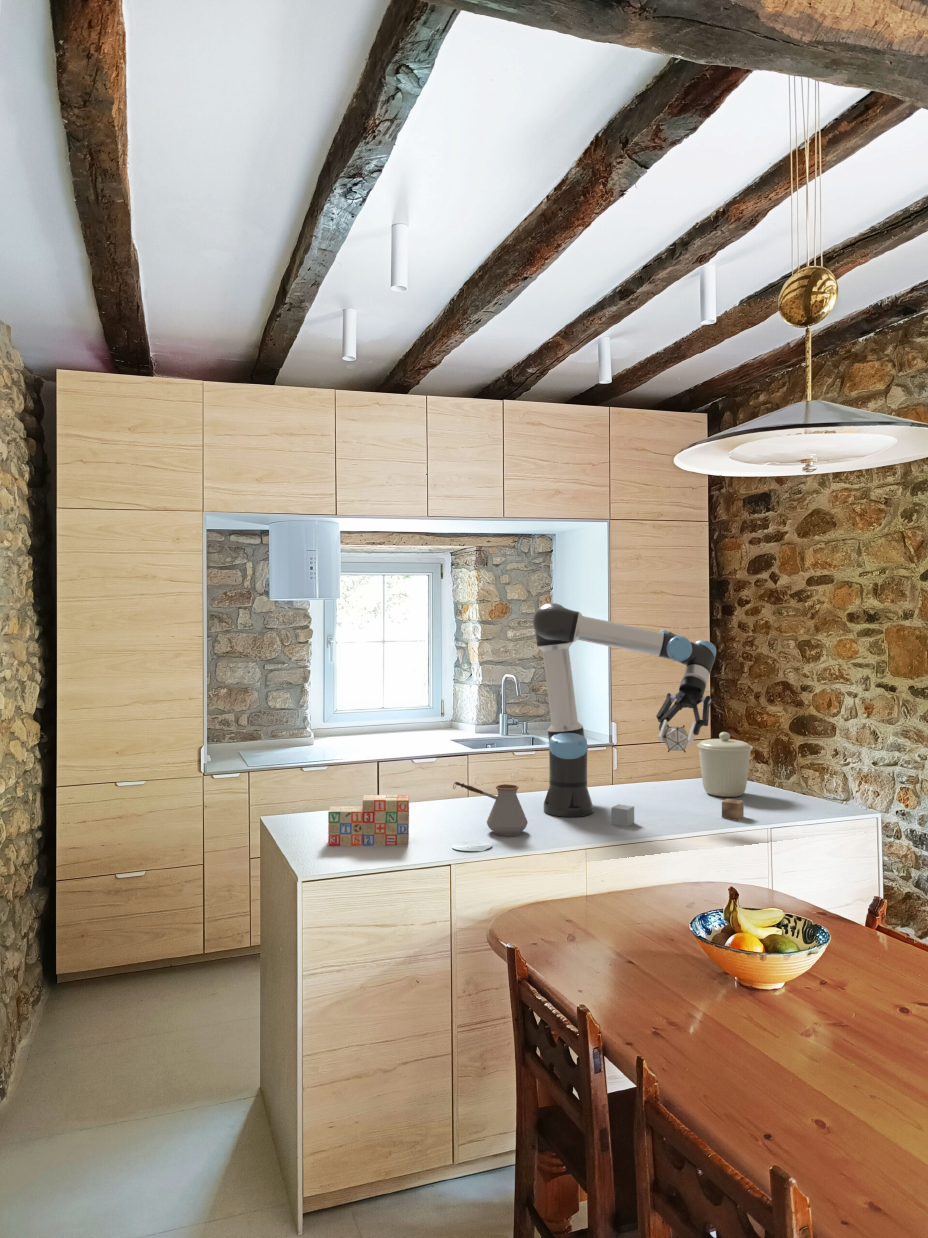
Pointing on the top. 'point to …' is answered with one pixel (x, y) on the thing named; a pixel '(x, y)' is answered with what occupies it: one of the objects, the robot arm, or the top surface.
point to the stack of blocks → (370, 822)
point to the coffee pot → (504, 810)
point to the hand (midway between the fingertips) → (675, 740)
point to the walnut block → (732, 809)
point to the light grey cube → (622, 815)
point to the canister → (724, 765)
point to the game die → (676, 738)
